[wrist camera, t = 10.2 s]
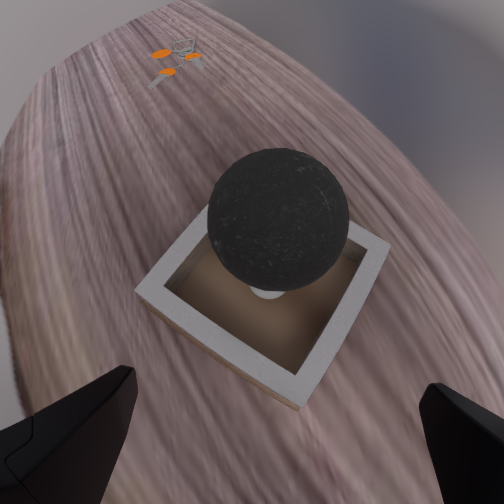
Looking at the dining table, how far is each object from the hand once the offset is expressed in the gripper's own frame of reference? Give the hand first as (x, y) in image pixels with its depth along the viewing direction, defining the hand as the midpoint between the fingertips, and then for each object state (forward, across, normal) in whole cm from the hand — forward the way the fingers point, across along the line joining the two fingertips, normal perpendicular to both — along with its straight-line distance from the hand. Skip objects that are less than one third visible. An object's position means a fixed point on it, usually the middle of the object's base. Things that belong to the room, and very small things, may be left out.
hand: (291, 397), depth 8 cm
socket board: (+12, 0, +2) cm, 12 cm away
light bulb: (+11, 0, +1) cm, 11 cm away
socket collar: (+12, 0, +2) cm, 12 cm away
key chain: (+32, +13, -18) cm, 39 cm away
